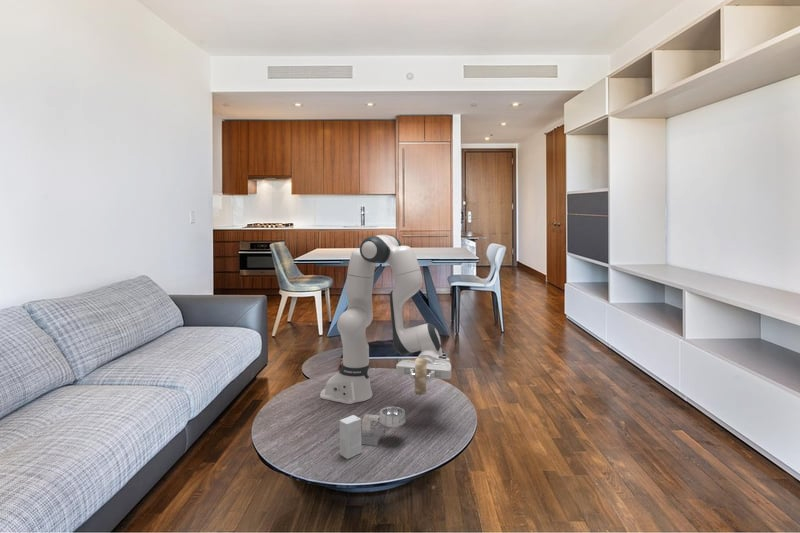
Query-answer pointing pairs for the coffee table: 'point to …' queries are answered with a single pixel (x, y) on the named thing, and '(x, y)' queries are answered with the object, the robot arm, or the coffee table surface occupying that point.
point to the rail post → (420, 376)
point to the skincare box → (350, 436)
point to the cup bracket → (387, 418)
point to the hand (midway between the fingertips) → (420, 377)
